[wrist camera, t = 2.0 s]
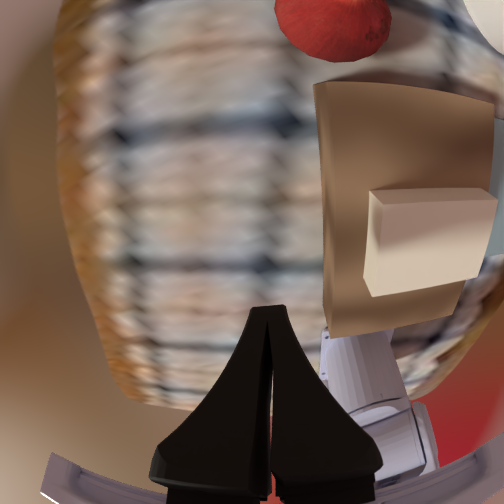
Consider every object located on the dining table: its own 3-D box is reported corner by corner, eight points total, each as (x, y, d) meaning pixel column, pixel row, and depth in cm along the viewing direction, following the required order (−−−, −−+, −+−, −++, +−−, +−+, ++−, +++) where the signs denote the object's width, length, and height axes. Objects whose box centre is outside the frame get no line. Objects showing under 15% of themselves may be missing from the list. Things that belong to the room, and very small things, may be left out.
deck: (434, 287, 22) (452, 314, 19) (322, 305, 24) (330, 339, 20) (460, 97, 13) (494, 104, 10) (312, 84, 14) (327, 81, 11)
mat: (503, 251, 20) (504, 253, 19) (442, 262, 21) (443, 264, 21) (524, 126, 12) (526, 127, 12) (460, 109, 13) (463, 110, 13)
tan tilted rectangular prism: (464, 261, 16) (477, 277, 14) (363, 277, 17) (372, 297, 15) (480, 187, 13) (498, 199, 11) (369, 190, 14) (383, 204, 12)
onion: (350, -7, 10) (401, -54, 3) (371, 66, 13) (440, 55, 6) (262, -2, 11) (263, -62, 4) (284, 73, 14) (303, 53, 7)
